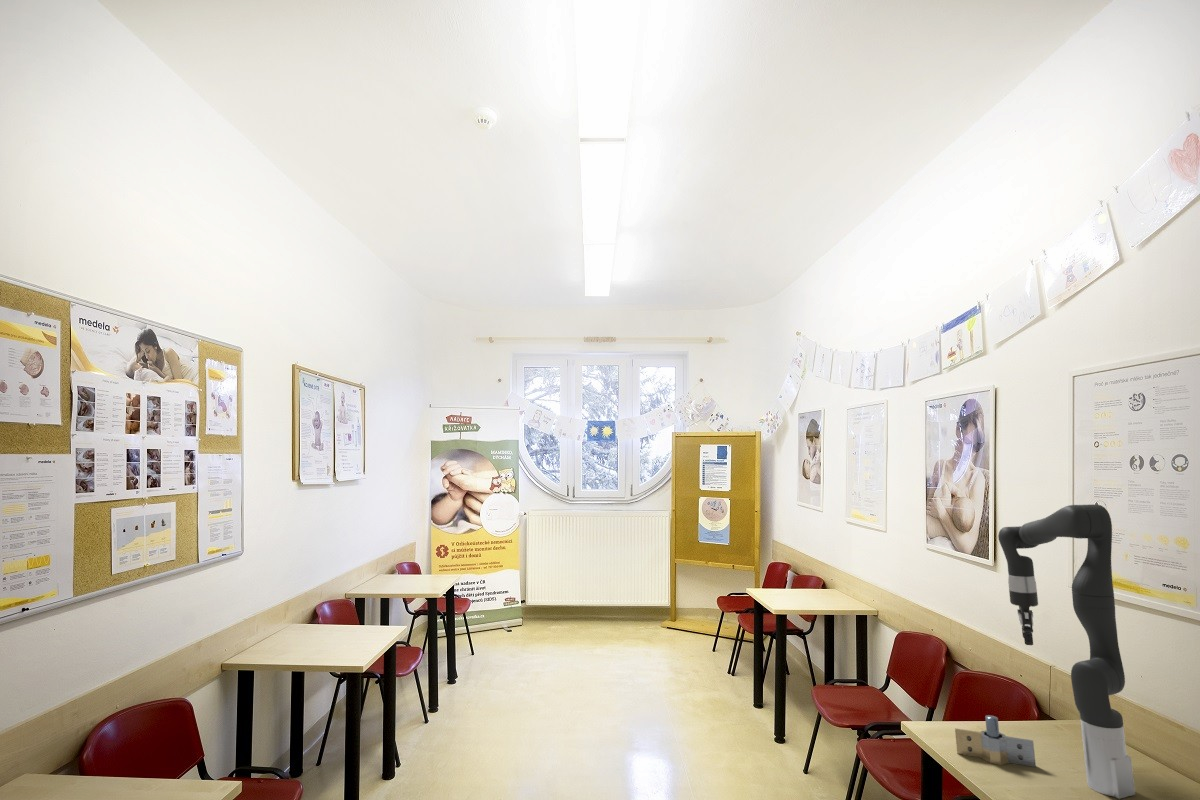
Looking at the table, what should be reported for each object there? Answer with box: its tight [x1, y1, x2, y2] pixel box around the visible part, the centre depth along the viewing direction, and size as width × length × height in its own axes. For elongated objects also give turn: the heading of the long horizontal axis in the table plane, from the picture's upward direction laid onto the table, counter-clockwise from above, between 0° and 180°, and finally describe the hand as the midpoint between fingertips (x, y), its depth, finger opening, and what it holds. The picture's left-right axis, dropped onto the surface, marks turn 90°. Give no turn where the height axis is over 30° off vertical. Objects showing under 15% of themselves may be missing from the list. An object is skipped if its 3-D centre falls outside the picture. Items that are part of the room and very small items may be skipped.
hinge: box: [954, 727, 1037, 768], centre depth 188 cm, size 20×6×7 cm, turn 60°
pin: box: [985, 714, 1000, 738], centre depth 189 cm, size 3×3×12 cm
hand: (1028, 641), depth 203 cm, fingers open, 8 cm apart
